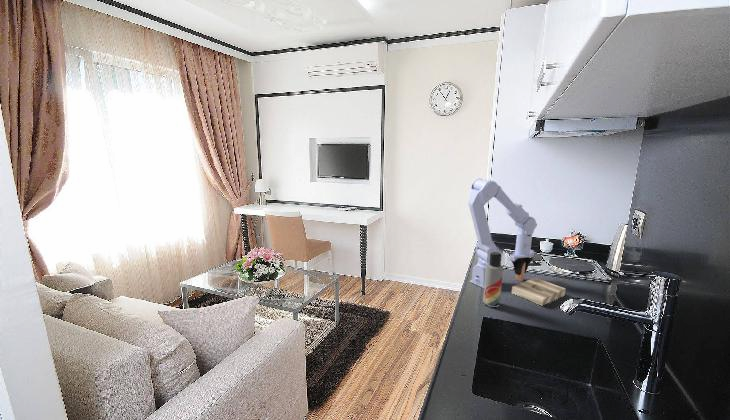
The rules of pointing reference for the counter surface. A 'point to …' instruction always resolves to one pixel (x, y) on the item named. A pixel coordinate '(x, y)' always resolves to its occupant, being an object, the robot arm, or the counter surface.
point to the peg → (521, 276)
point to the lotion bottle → (493, 280)
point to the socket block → (538, 291)
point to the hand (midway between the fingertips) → (520, 273)
